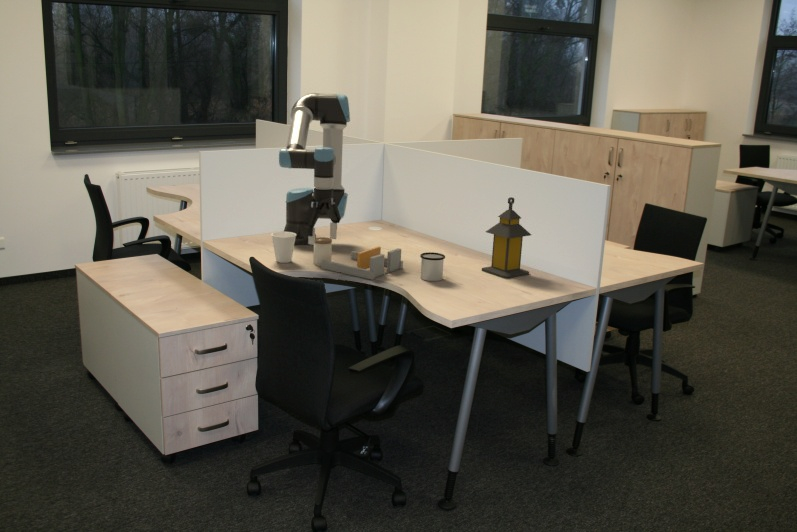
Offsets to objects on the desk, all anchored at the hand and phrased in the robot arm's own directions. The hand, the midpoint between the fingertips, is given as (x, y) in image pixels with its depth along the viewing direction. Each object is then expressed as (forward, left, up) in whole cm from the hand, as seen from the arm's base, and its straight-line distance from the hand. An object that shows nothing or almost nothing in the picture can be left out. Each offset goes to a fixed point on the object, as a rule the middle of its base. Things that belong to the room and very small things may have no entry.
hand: (322, 241), depth 294 cm
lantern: (-38, +62, -9) cm, 73 cm away
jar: (0, 0, -9) cm, 9 cm away
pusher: (-5, +23, -8) cm, 25 cm away
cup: (+7, -14, -9) cm, 18 cm away
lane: (-5, +16, -9) cm, 19 cm away
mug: (-12, +44, -9) cm, 46 cm away
